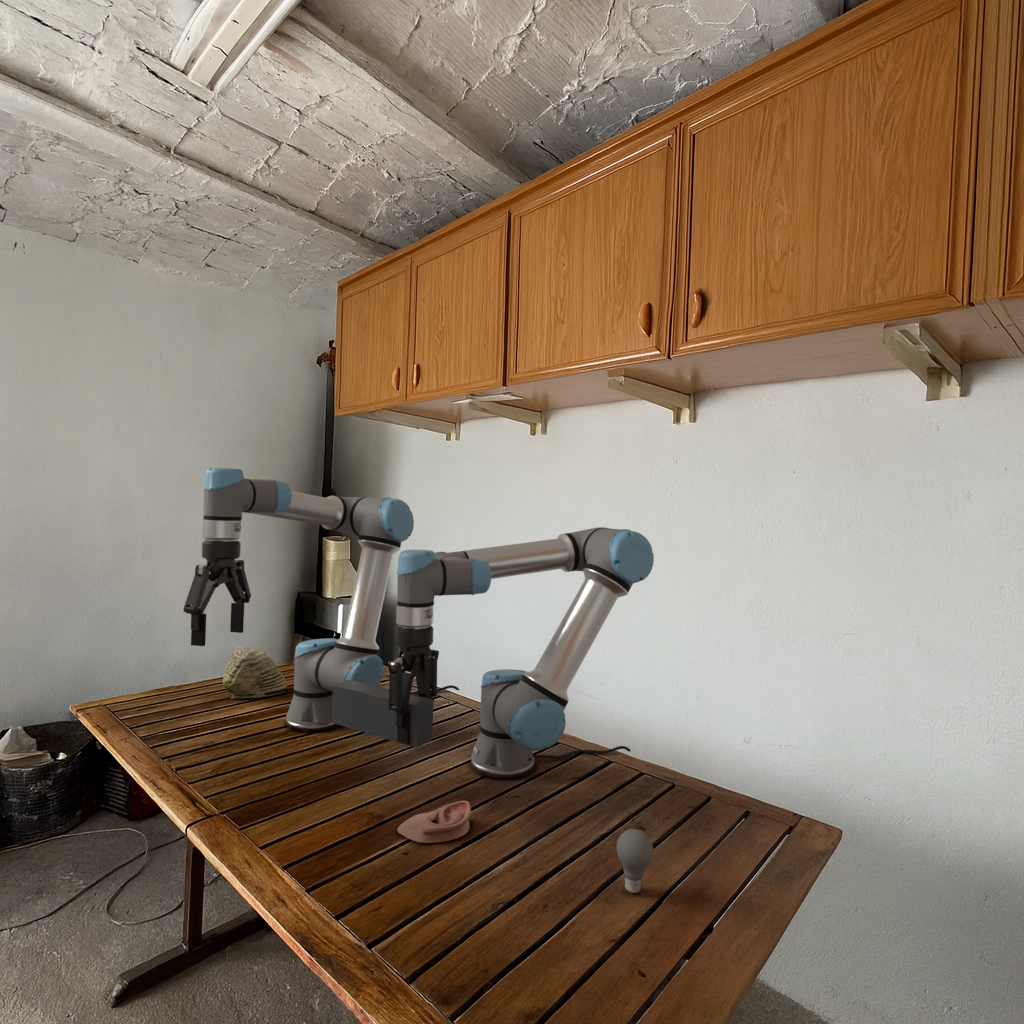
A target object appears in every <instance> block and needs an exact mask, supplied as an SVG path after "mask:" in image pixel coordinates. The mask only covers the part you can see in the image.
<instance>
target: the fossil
mask: <svg viewBox="0 0 1024 1024" xmlns="http://www.w3.org/2000/svg"><path fill="white" fill-rule="evenodd" d="M222 676H223V677H222V685H223V687H224V688H225V690H226V691H228V693H229V698H230V699H250V698H264V697H271V696H275V695H281V694H284V693H285V691H286V689H287V687H288V686H287V680H286V678H285V676H284V674H283V673H282V672H281V669H279V668H278V667H277V665H276V663H275V662H274V660H273V659H272V658H271V657H270V656H269V655H268V654H267V653H266V652H265V650H264V649H263V648H260V647H258V648H251V647H247V646H246V647H245V646H238V647H237V648H236V649H235V650H233V651H232V653H231V656H230V657H229V659H228V660H227V663H226V666H225V668H224V671H223V675H222Z"/></svg>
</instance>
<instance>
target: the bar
mask: <svg viewBox="0 0 1024 1024" xmlns="http://www.w3.org/2000/svg"><path fill="white" fill-rule="evenodd" d="M411 694H412V693H411ZM411 694H410V699H409V705H408V710H407V711H410V743H409V744H404V743H401V742H397V726H396V711H393V710H390V709H389V688H386V687H382V686H374V685H370V684H366V683H361V682H357V681H353V680H347V681H344V682H341V683H338V684H335V685H333V702H332V723H334V724H337V725H339V726H341V727H344V728H347V729H350V730H355V731H358V732H362V733H365V734H368V735H371V736H374V737H378V738H382V739H385V740H387V741H388V740H389V741H391V742H395V743H399V744H402V745H405V746H408V747H412V748H415V749H418V748H420V747H421V746H423V745H426V744H427V743H429V742H432V741H433V737H434V736H433V735H434V734H433V732H434V731H433V730H434V728H433V727H434V702H433V700H432V699H428V698H424V697H420V696H419V695H416V696H415V695H411ZM402 706H403V705H402Z"/></svg>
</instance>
